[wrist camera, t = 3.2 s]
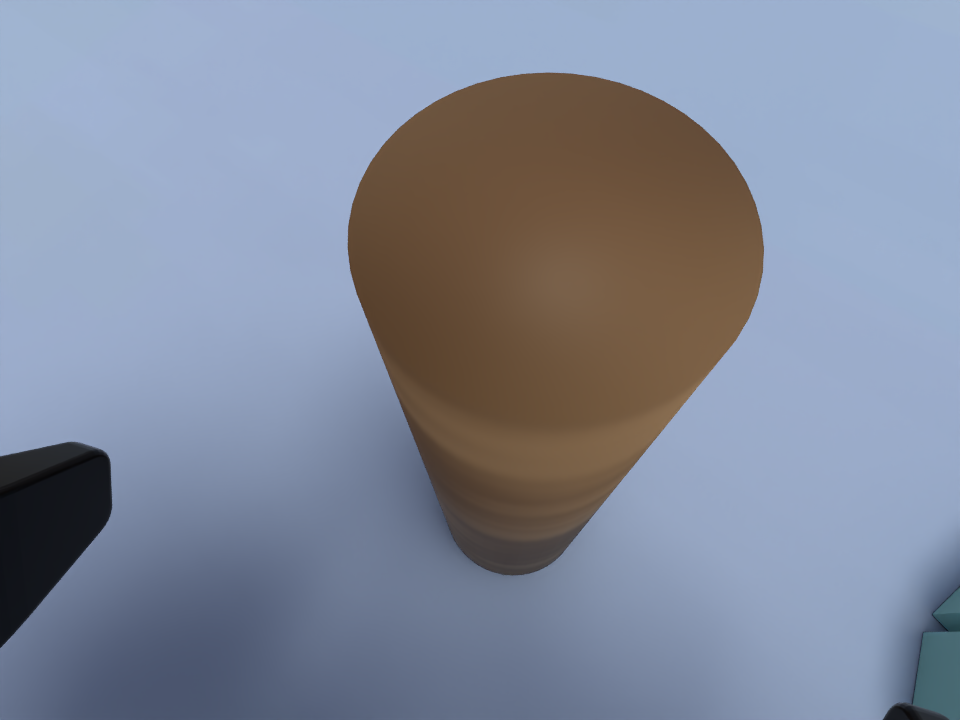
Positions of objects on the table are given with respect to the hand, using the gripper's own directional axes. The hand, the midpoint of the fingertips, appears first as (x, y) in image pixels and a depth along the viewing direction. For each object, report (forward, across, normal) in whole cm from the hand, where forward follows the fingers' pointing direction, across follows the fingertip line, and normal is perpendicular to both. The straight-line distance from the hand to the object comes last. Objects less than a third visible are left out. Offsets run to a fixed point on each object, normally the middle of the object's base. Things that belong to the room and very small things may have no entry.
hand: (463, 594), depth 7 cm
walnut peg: (+9, 0, +5) cm, 11 cm away
